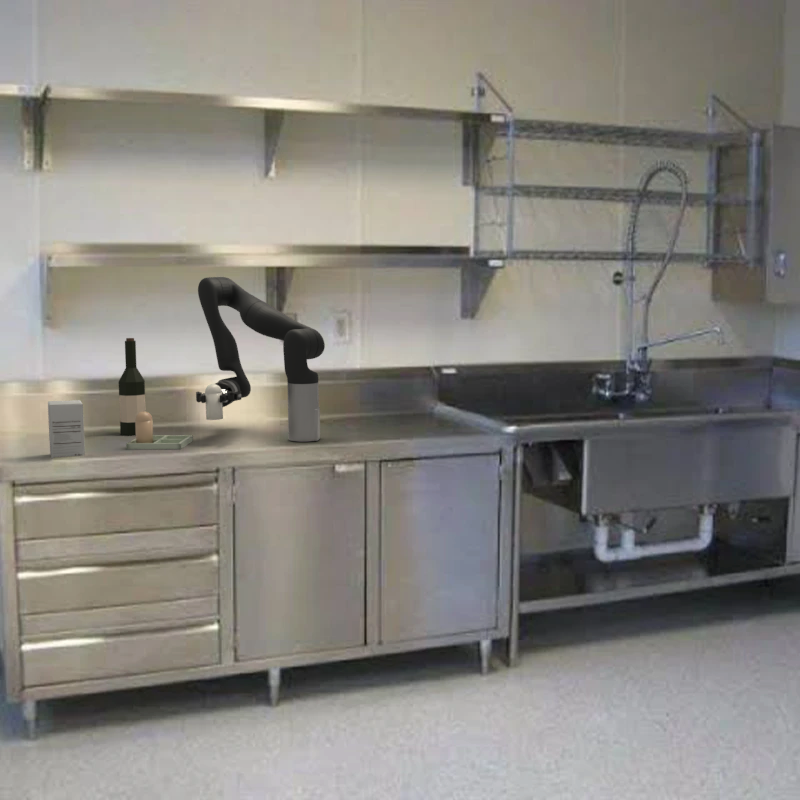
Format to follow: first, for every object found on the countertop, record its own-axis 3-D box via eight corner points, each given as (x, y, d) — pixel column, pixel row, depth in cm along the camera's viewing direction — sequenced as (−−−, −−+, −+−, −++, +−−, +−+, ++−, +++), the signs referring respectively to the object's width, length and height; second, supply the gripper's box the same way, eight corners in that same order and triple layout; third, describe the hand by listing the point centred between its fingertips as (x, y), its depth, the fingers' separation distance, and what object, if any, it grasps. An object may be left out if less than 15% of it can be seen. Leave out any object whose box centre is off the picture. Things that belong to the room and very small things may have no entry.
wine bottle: (124, 436, 320) (121, 339, 317) (116, 433, 327) (112, 338, 324) (151, 434, 325) (147, 338, 321) (141, 431, 332) (138, 337, 328)
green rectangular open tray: (193, 442, 308) (192, 435, 308) (180, 451, 293) (180, 443, 293) (141, 442, 309) (141, 435, 308) (126, 451, 293) (126, 443, 293)
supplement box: (49, 454, 289) (47, 400, 287) (83, 452, 292) (81, 399, 290) (50, 459, 281) (48, 404, 279) (85, 457, 284) (83, 402, 282)
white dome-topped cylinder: (224, 417, 304) (223, 383, 303) (221, 419, 300) (219, 384, 299) (208, 418, 305) (206, 383, 303) (204, 420, 300) (203, 384, 299)
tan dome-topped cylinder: (155, 445, 300) (154, 410, 298) (150, 448, 295) (149, 412, 294) (138, 445, 300) (137, 410, 298) (134, 448, 295) (132, 412, 294)
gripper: (199, 381, 315) (186, 386, 299) (246, 380, 315) (236, 385, 298) (200, 406, 316) (187, 412, 299) (247, 405, 316) (237, 411, 299)
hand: (211, 399), depth 299 cm, fingers closed on white dome-topped cylinder, 4 cm apart
